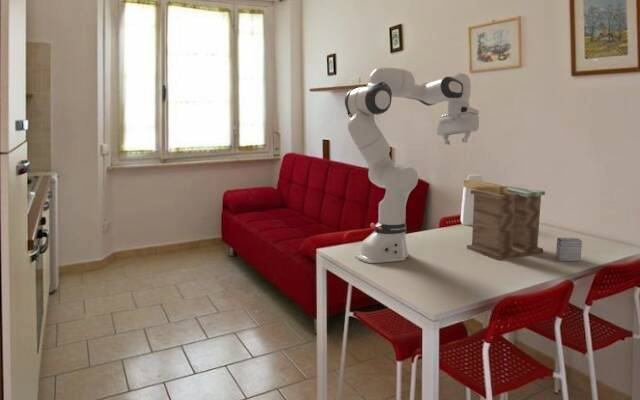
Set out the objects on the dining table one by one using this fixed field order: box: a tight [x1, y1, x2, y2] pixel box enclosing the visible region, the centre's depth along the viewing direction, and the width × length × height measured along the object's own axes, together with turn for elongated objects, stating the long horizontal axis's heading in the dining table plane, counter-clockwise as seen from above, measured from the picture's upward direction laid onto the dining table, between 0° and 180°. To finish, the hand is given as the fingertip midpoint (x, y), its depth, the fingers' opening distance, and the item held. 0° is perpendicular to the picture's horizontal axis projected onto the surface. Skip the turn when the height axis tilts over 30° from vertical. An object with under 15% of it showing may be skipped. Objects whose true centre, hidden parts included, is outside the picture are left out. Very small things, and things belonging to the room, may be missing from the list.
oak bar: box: [462, 179, 508, 194], centre depth 202 cm, size 4×22×3 cm, turn 22°
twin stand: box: [466, 185, 546, 261], centre depth 202 cm, size 25×18×26 cm
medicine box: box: [555, 237, 583, 262], centre depth 189 cm, size 8×4×9 cm, turn 84°
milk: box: [460, 174, 485, 226], centre depth 253 cm, size 12×12×26 cm
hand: (455, 143), depth 203 cm, fingers open, 8 cm apart
